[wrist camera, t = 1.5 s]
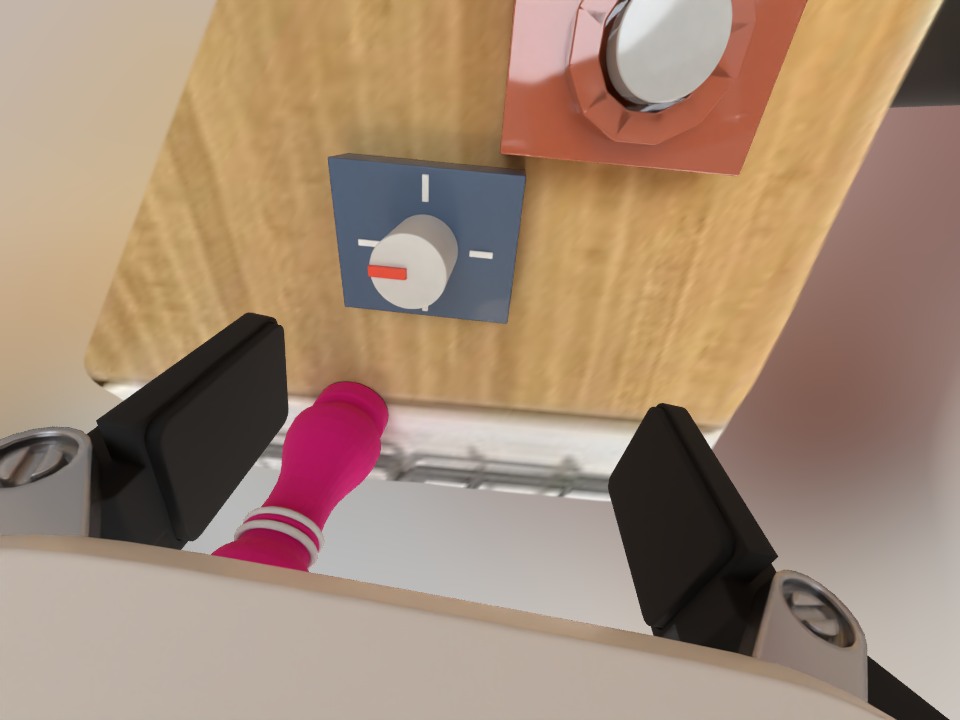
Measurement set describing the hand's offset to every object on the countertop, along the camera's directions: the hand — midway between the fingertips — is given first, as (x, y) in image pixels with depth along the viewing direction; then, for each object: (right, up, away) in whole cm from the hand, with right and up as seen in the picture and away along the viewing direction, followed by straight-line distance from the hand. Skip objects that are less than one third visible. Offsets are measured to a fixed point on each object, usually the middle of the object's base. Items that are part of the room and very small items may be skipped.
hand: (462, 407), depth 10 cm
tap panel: (-3, +10, +16) cm, 19 cm away
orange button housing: (+8, +17, +11) cm, 22 cm away
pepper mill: (-11, -3, +25) cm, 27 cm away
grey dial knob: (-3, +8, +14) cm, 16 cm away
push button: (+8, +14, +6) cm, 17 cm away
